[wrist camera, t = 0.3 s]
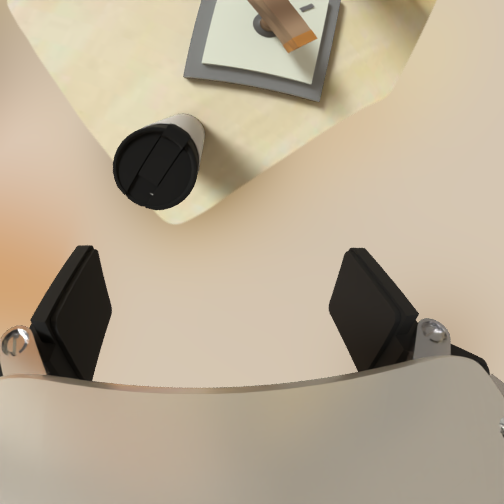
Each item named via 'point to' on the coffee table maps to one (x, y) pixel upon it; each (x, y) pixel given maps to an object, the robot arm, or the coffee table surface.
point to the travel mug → (160, 162)
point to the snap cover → (260, 48)
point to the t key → (283, 23)
